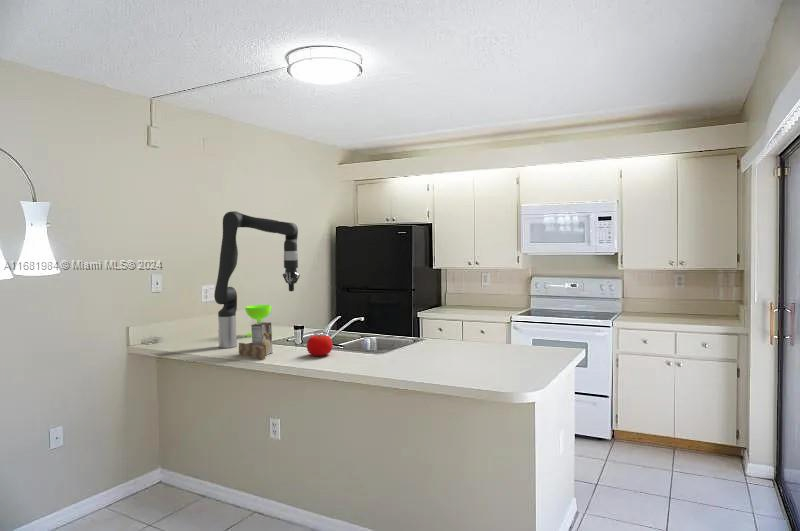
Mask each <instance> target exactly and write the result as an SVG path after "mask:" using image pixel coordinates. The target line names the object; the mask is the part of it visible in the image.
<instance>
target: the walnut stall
mask: <svg viewBox="0 0 800 531" xmlns="http://www.w3.org/2000/svg"><path fill="white" fill-rule="evenodd" d="M238 355H239V356H245V357H249V358H253V359H257V358H258V359H257V360H262V359H265V360H266V357H267V355H266V345H259V346H256V345H252V342H248V343H245V342H238ZM265 356H266V357H265Z"/></svg>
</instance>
